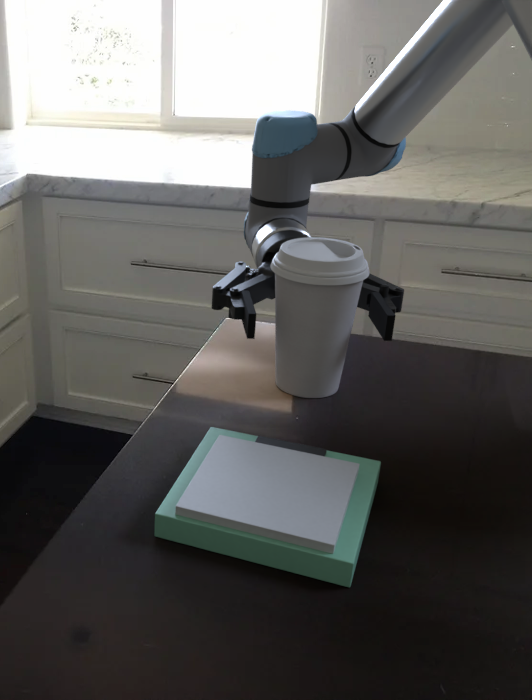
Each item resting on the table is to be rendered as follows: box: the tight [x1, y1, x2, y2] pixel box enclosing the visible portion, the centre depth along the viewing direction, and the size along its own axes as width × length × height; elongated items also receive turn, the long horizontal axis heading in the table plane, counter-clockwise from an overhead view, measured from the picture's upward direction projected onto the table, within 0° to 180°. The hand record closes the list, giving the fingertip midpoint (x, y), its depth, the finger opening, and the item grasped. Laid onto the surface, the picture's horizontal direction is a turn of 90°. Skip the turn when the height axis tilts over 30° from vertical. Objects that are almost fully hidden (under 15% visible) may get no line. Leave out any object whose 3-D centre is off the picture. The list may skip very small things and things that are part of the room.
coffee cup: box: [270, 236, 371, 399], centre depth 89 cm, size 10×10×15 cm
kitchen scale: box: [153, 426, 382, 588], centre depth 71 cm, size 15×15×3 cm
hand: (320, 327), depth 86 cm, fingers open, 13 cm apart
